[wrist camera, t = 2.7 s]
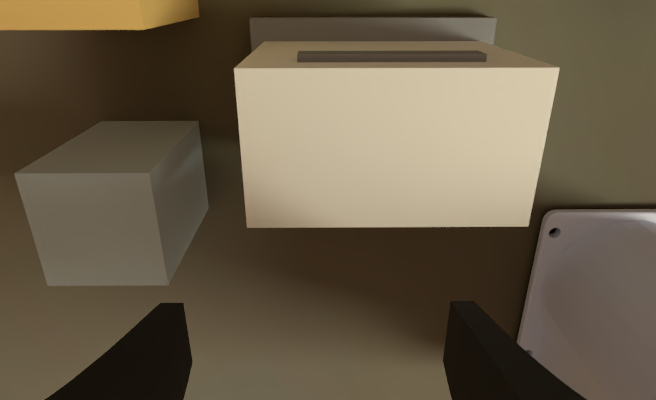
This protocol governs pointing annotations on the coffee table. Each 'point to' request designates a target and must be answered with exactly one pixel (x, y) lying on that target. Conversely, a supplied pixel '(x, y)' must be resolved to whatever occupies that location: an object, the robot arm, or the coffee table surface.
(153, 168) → the slate block
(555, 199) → the coffee table surface
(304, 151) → the cream unit
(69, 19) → the ochre block
